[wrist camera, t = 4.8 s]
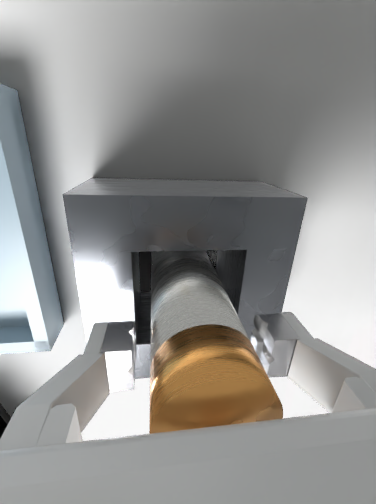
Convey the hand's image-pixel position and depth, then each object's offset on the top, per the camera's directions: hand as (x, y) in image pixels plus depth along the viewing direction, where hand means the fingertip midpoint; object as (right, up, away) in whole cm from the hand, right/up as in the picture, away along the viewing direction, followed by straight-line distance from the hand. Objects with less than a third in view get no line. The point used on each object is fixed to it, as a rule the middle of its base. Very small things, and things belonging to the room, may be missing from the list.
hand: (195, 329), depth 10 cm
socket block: (-1, +3, +6) cm, 7 cm away
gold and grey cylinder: (-1, +3, +6) cm, 7 cm away
